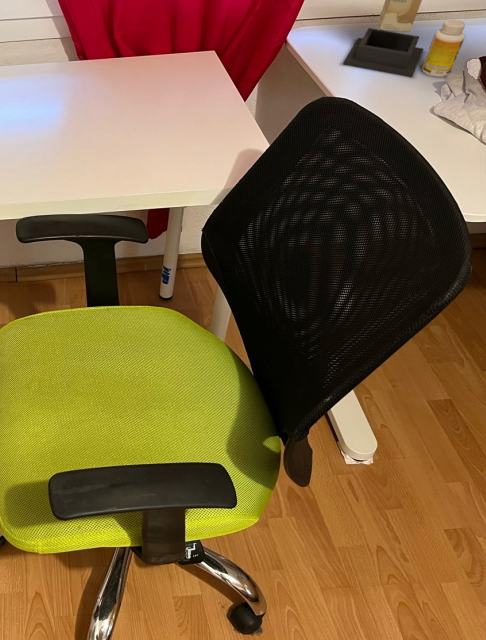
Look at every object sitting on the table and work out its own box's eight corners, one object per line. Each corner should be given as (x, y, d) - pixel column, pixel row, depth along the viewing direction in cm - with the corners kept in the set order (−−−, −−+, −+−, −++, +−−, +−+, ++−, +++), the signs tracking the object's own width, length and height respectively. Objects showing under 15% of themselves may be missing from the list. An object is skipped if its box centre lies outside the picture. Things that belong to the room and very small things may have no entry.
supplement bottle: (451, 79, 143) (472, 29, 136) (422, 77, 144) (442, 27, 137) (447, 67, 147) (467, 18, 139) (419, 65, 148) (438, 16, 141)
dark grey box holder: (422, 53, 152) (429, 34, 149) (411, 78, 144) (418, 59, 141) (356, 41, 157) (362, 23, 154) (342, 65, 149) (348, 47, 146)
